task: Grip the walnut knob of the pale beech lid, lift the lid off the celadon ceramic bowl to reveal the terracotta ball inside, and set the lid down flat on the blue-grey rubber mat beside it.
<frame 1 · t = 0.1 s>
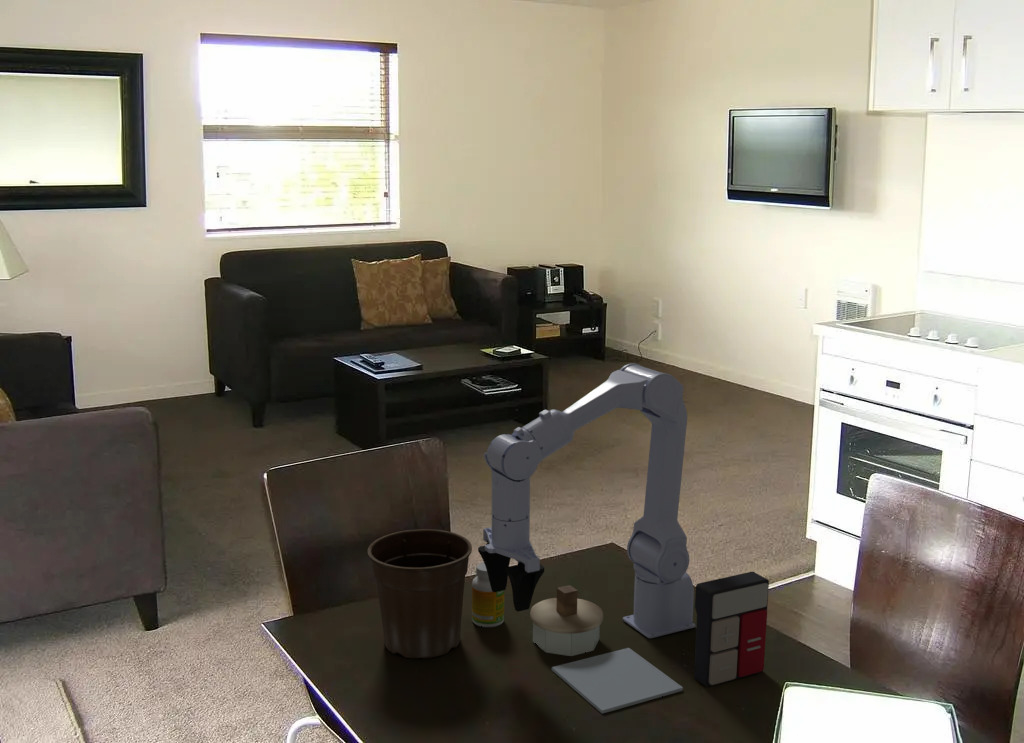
hand: (510, 599, 158), 10 cm above the table, tool pointing down, fingers open, 7 cm apart
bowl: (566, 640, 167), on the table
mat: (616, 680, 155), on the table
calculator: (729, 676, 156), on the table
supplement bottle: (488, 622, 174), on the table
plant pot: (421, 643, 166), on the table
lid: (566, 617, 166), point 4 cm above the table, touching bowl
ball: (566, 626, 167), point 2 cm above the table, touching bowl
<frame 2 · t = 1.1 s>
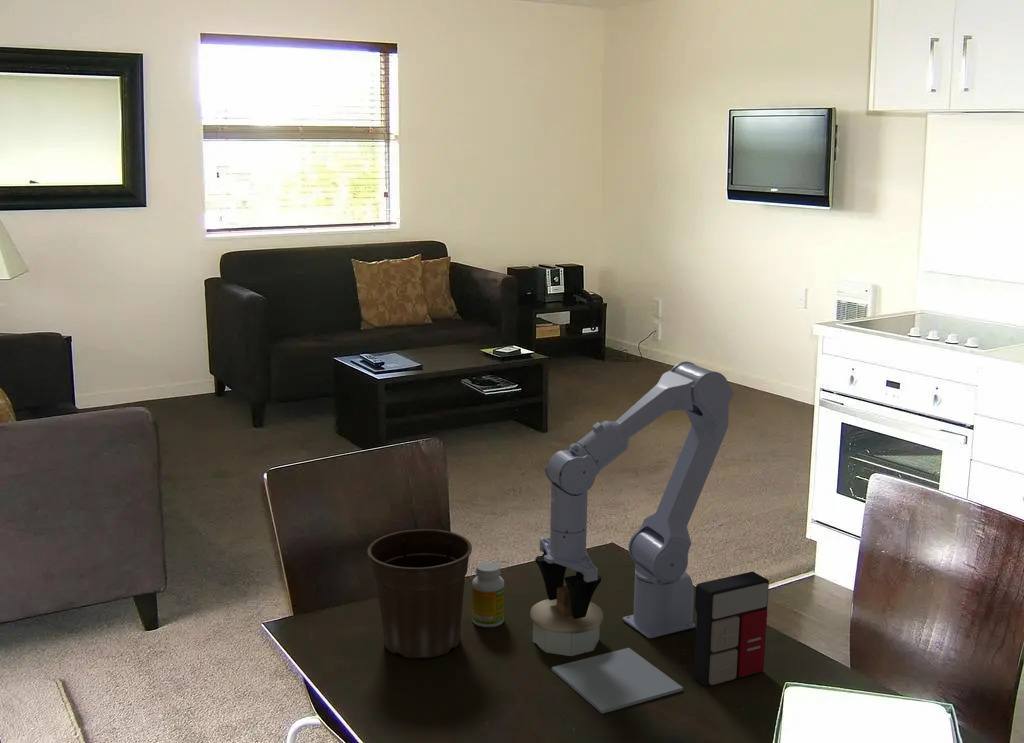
hand: (566, 607, 166), 6 cm above the table, tool pointing down, fingers open, 7 cm apart
nothing on the table moved.
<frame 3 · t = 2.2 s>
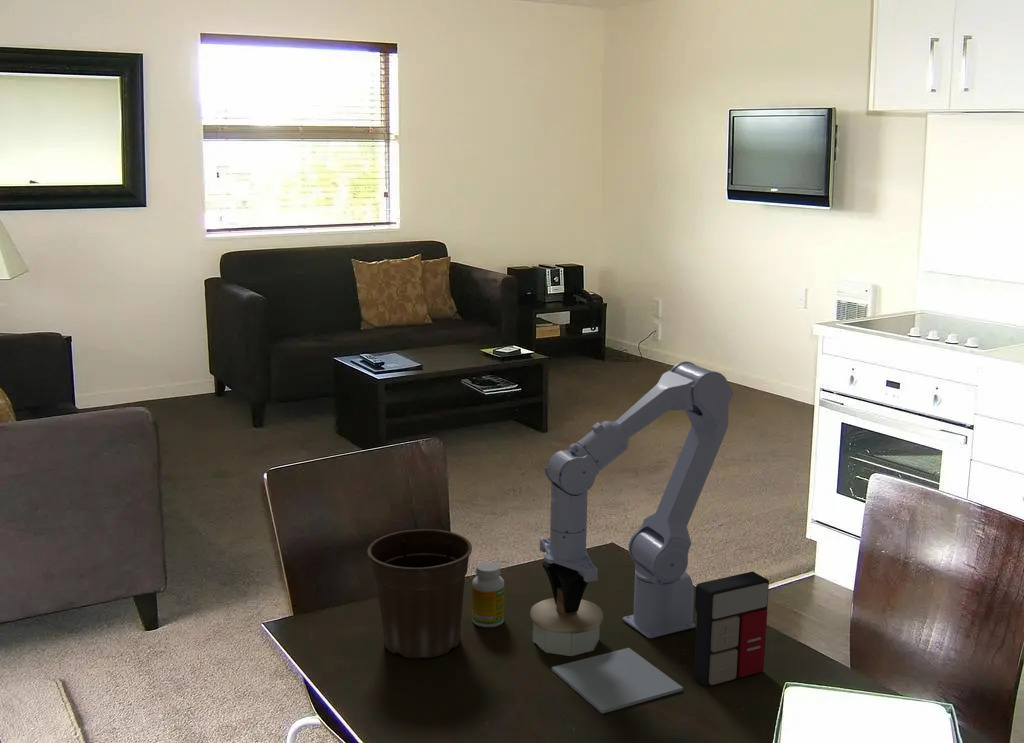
hand: (566, 607, 166), 6 cm above the table, tool pointing down, fingers closed on lid, 2 cm apart
lid: (566, 617, 166), point 4 cm above the table, touching bowl, gripper
everything else where it was.
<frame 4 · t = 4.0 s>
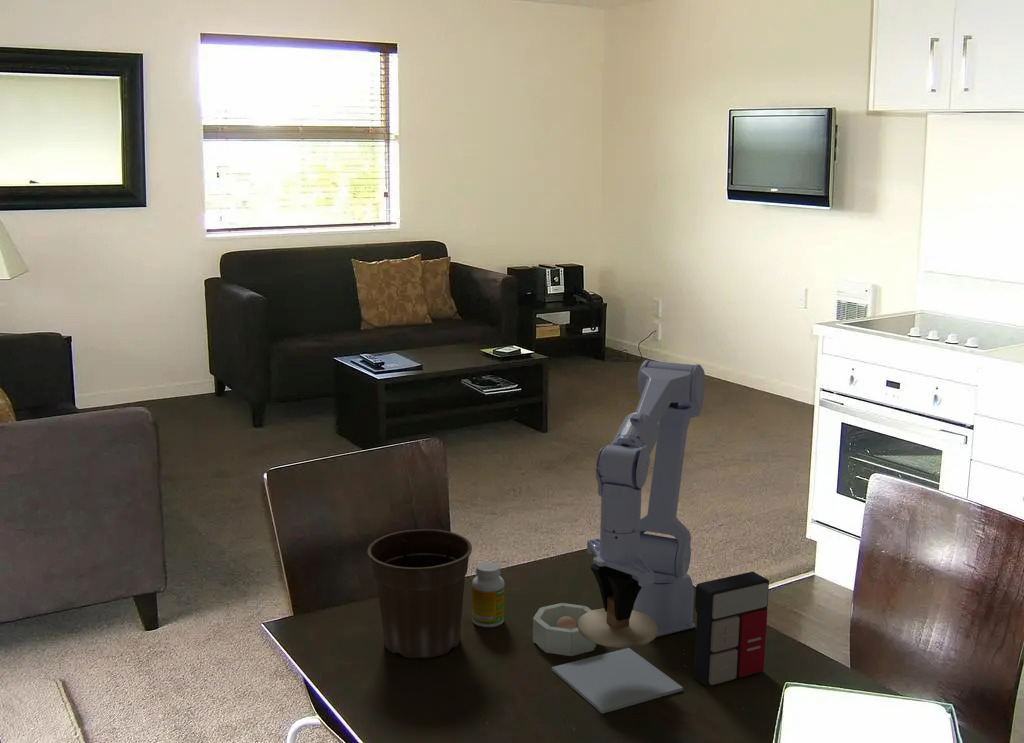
hand: (617, 614, 153), 10 cm above the table, tool pointing down, fingers closed on lid, 2 cm apart
lid: (617, 629, 153), point 8 cm above the table, touching gripper
everything else where it was.
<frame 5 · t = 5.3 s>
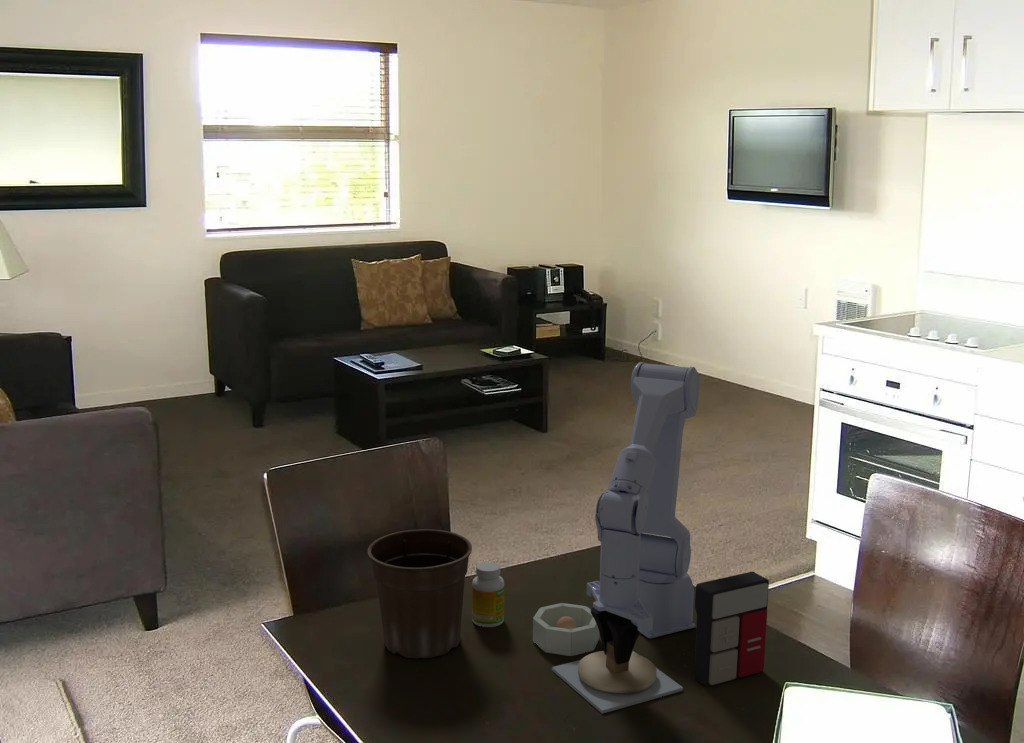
hand: (616, 657, 154), 4 cm above the table, tool pointing down, fingers closed on lid, 2 cm apart
lid: (616, 673, 154), point 1 cm above the table, touching gripper
everything else where it was.
when the fingers open (3 cm above the table, at t = 6.0 s): lid stays where it is, resting on mat.
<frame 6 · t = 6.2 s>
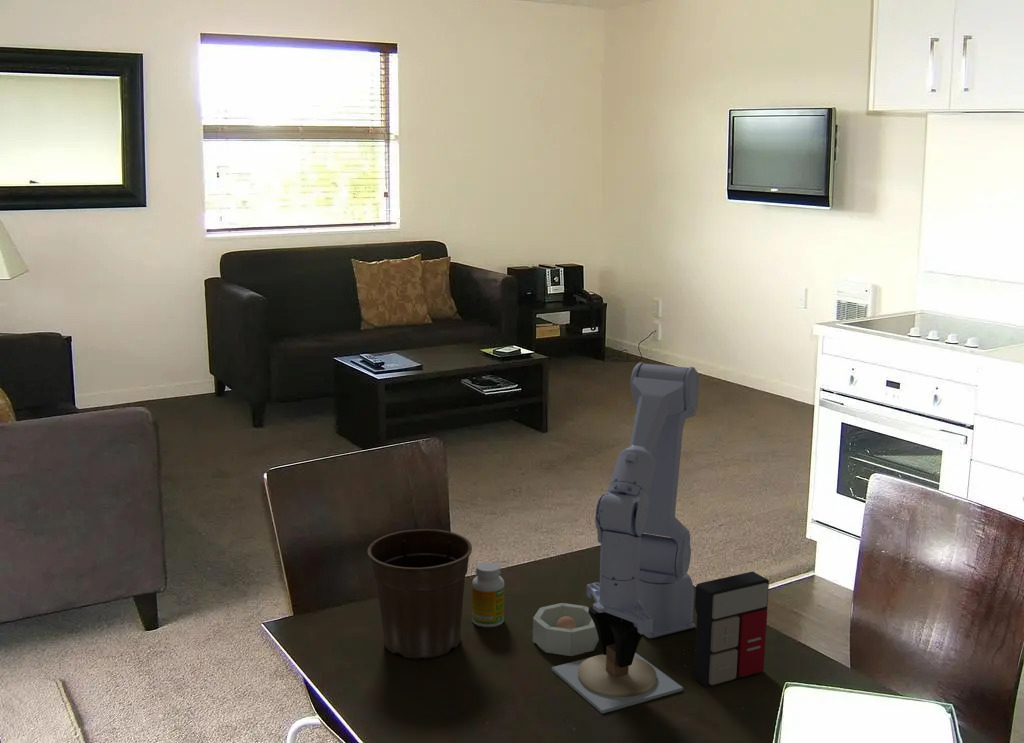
hand: (616, 659, 154), 3 cm above the table, tool pointing down, fingers open, 4 cm apart
lid: (616, 677, 155), resting on mat
everything else where it was.
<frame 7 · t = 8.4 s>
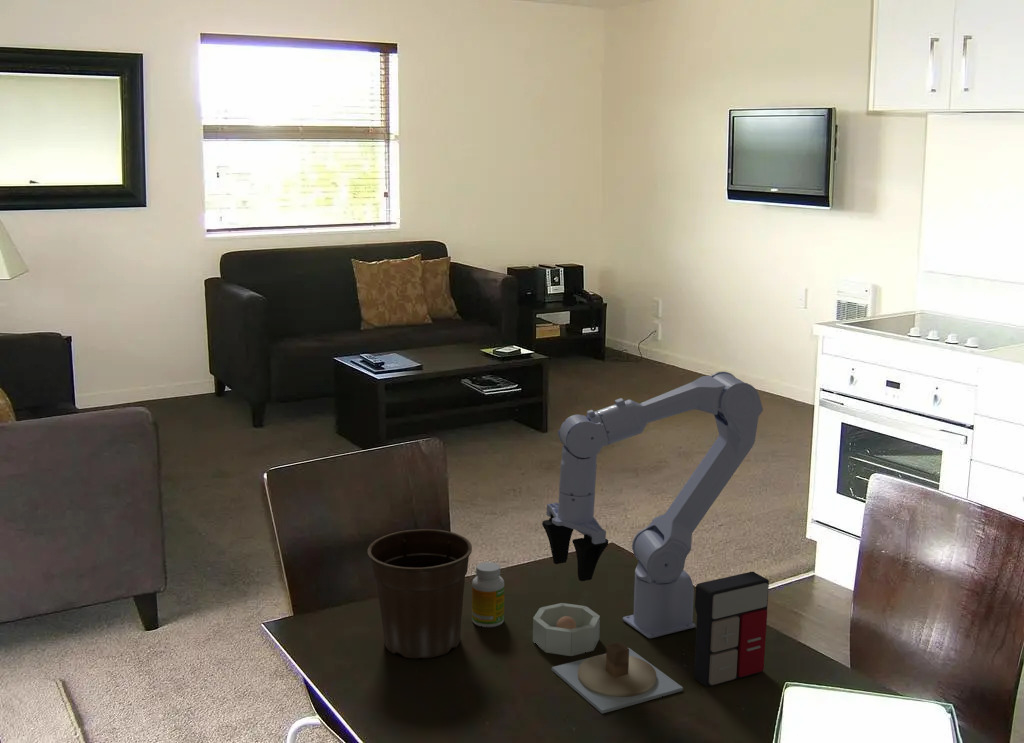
hand: (572, 571, 168), 10 cm above the table, tool pointing down, fingers open, 7 cm apart
nothing on the table moved.
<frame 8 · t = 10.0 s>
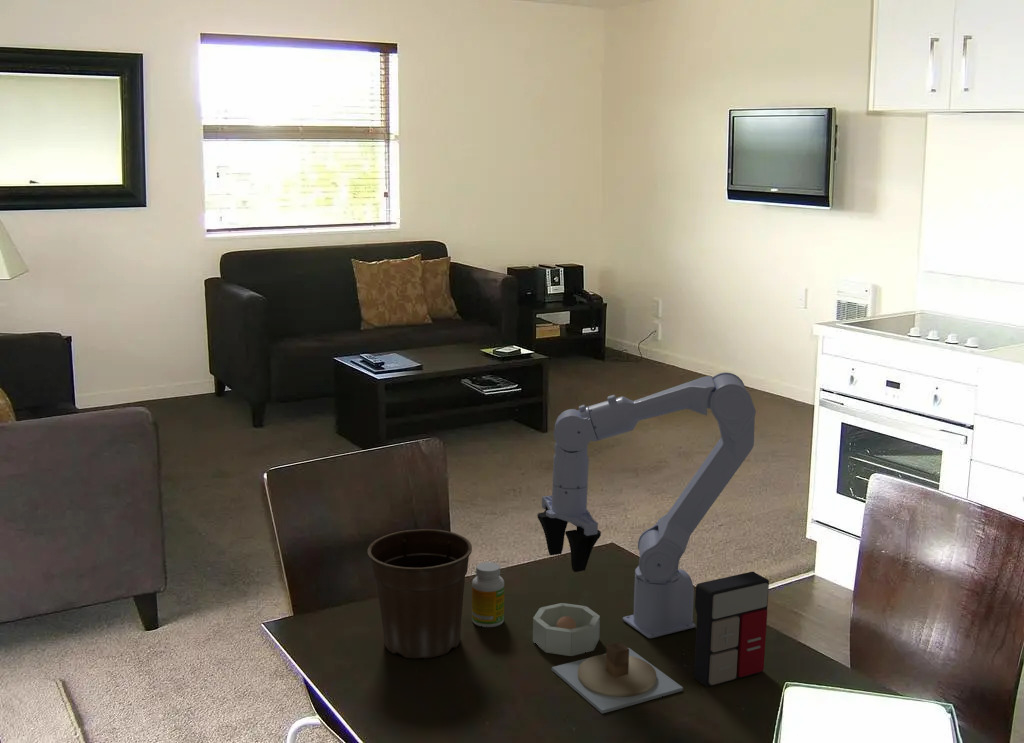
hand: (566, 562, 172), 10 cm above the table, tool pointing down, fingers open, 7 cm apart
nothing on the table moved.
at the end: lid inside the target area on the mat (0.1 cm from its centre), point 0.5 cm above the mat's base; lid tilted 0°; the gripper is holding nothing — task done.
